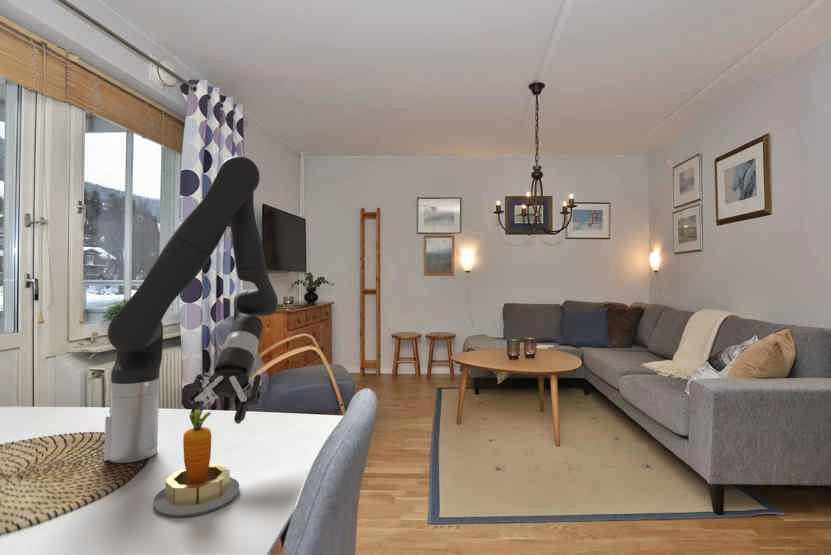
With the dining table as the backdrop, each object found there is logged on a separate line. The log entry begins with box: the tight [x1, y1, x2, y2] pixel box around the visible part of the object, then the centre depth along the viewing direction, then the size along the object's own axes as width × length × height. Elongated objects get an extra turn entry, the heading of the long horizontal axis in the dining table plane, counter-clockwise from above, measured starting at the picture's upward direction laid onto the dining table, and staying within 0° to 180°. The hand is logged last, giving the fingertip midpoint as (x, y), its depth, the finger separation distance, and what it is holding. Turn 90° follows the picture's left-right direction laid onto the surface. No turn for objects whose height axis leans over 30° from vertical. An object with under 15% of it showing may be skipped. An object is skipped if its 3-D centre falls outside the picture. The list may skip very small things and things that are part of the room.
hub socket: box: [153, 463, 240, 519], centre depth 80 cm, size 14×14×4 cm
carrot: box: [182, 409, 212, 485], centre depth 80 cm, size 5×5×15 cm
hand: (215, 421), depth 88 cm, fingers open, 8 cm apart
